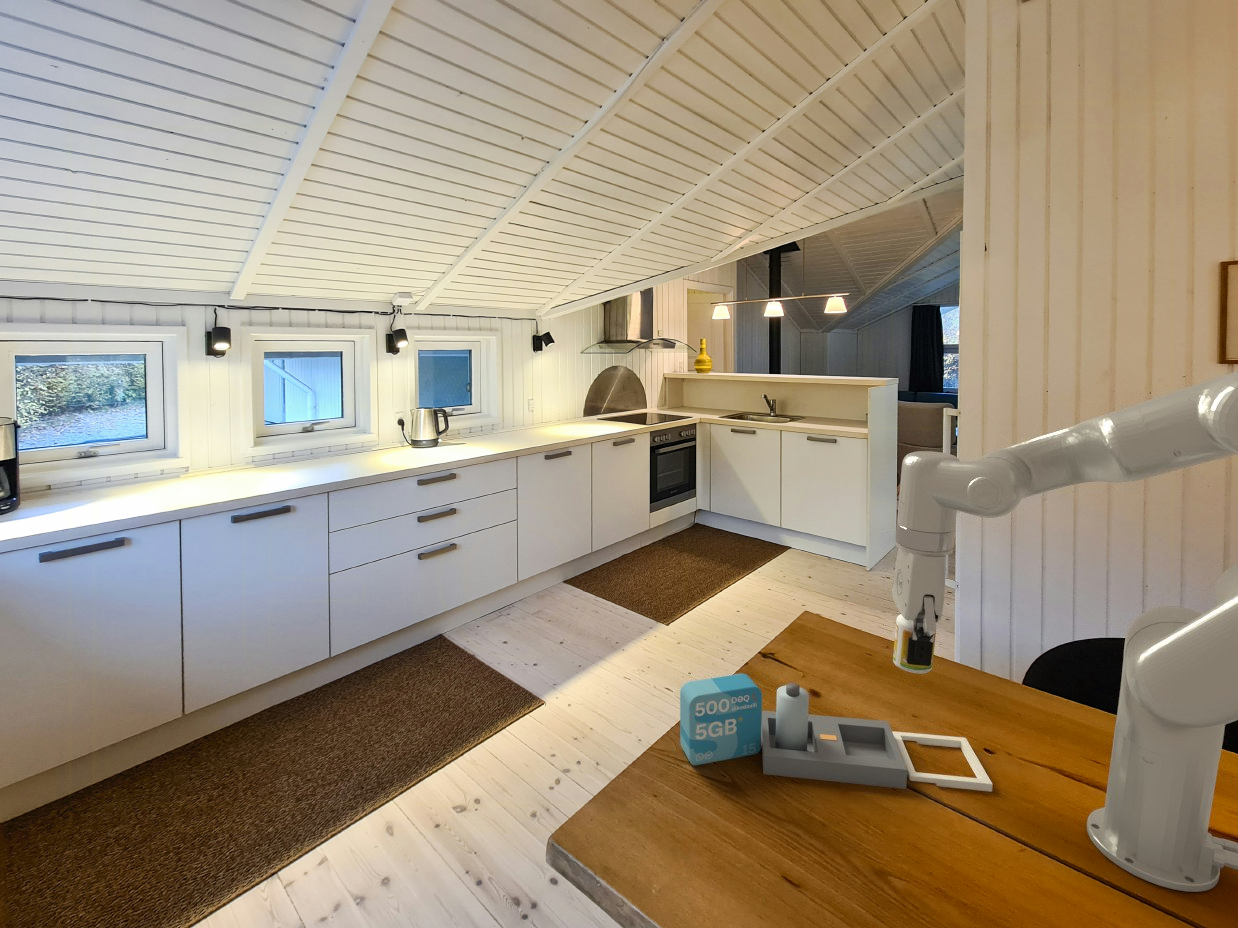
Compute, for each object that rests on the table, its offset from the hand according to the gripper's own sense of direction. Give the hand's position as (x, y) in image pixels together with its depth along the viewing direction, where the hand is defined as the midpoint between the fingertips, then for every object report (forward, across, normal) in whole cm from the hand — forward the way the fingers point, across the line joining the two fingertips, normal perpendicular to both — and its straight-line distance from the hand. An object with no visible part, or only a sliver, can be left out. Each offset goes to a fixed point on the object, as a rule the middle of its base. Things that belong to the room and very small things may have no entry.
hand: (913, 652), depth 92 cm
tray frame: (+18, 0, +5) cm, 19 cm away
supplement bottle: (+2, 0, 0) cm, 2 cm away
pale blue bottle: (+18, +2, -17) cm, 25 cm away
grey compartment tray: (+18, +2, -11) cm, 21 cm away
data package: (+19, +4, -28) cm, 34 cm away
